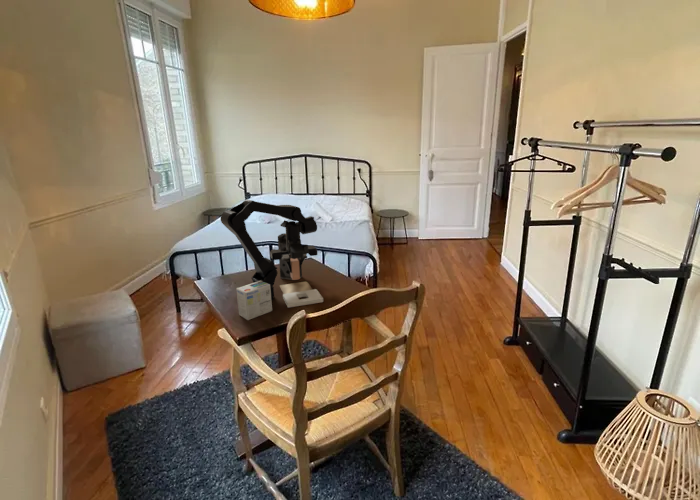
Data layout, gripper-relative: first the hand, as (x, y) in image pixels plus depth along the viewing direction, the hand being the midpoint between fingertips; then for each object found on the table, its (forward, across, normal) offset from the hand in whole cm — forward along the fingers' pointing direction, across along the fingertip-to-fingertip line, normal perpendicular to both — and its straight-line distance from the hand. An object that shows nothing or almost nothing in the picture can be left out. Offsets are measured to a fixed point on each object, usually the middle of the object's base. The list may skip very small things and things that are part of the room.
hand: (294, 272), depth 161 cm
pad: (+8, 0, 0) cm, 8 cm away
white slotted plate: (+8, 0, -12) cm, 14 cm away
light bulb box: (+8, -19, -17) cm, 27 cm away
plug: (+2, 0, 0) cm, 2 cm away
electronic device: (+8, +1, +14) cm, 16 cm away
